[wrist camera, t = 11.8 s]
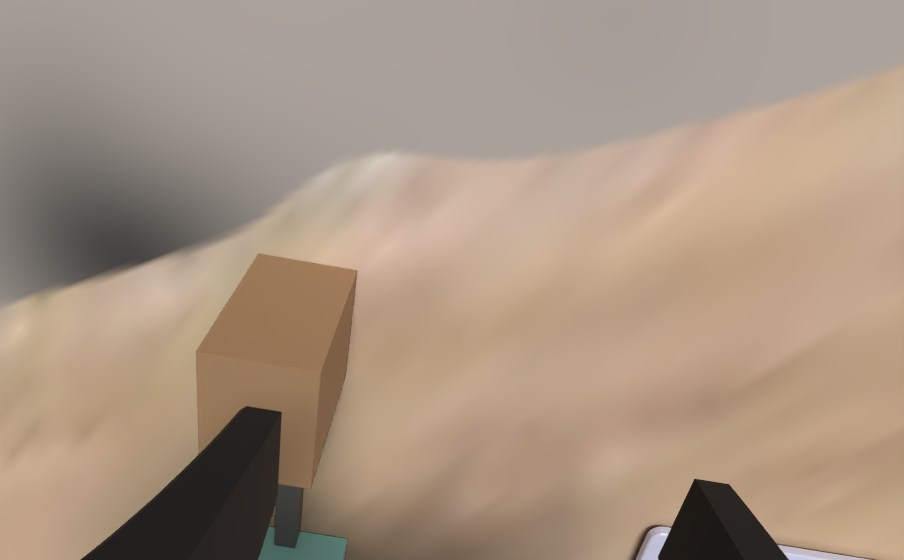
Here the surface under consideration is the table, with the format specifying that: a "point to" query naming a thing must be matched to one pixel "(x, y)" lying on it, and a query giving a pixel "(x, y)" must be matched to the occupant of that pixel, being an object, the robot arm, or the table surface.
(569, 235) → the table surface
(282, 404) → the brown tall block
